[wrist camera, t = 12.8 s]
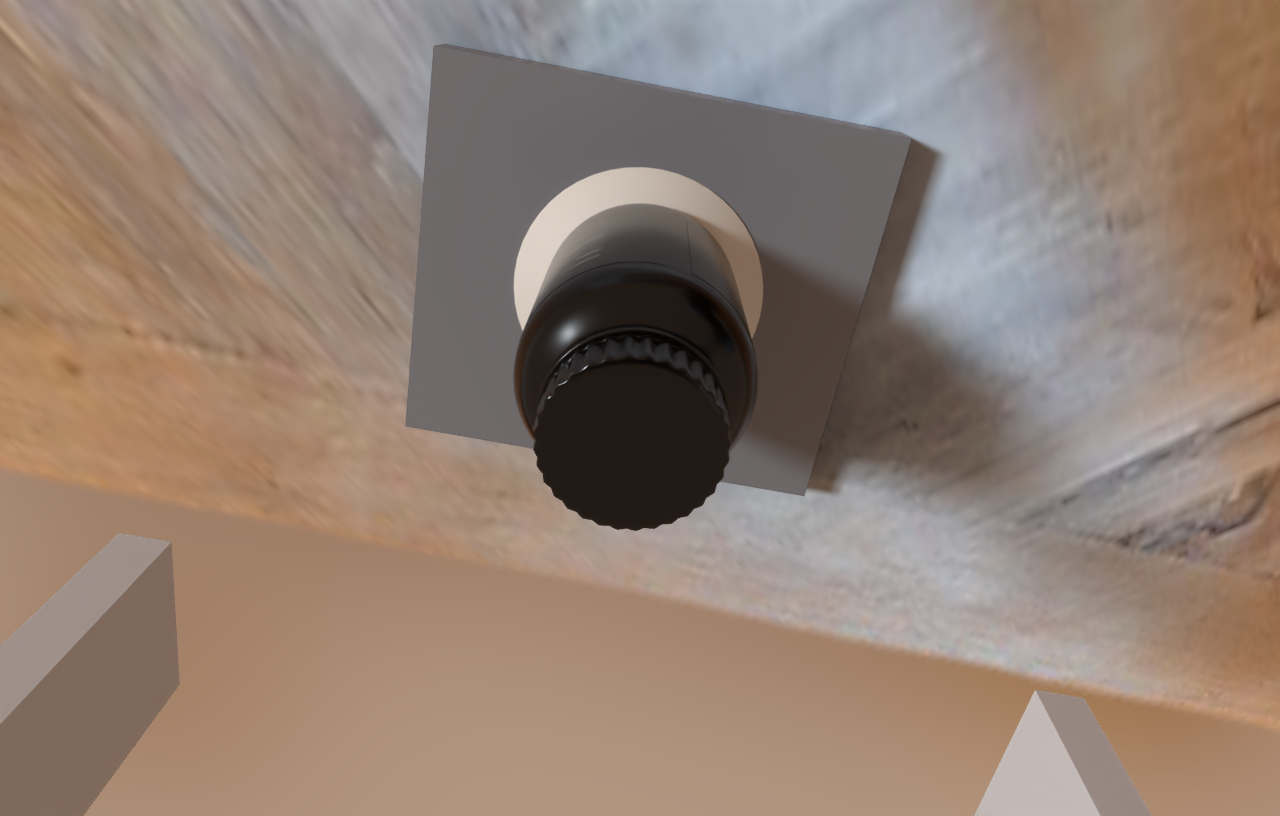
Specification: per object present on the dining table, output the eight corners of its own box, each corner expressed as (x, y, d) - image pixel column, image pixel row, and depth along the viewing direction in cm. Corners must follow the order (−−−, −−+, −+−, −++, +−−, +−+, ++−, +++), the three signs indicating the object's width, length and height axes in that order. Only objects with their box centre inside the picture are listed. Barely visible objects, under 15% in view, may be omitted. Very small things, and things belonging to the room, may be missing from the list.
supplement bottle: (570, 394, 33) (520, 583, 23) (528, 218, 31) (448, 336, 20) (750, 366, 33) (788, 547, 22) (723, 182, 30) (752, 285, 19)
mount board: (901, 132, 31) (912, 138, 29) (799, 477, 36) (804, 497, 35) (444, 43, 30) (432, 45, 28) (415, 409, 36) (404, 427, 34)
